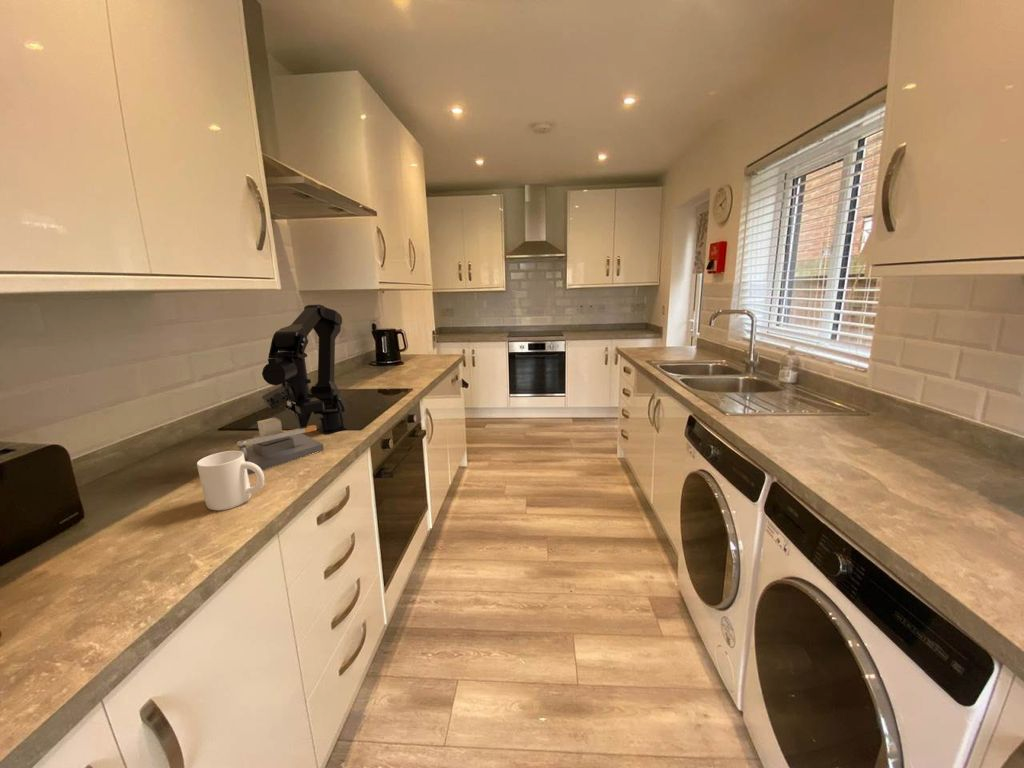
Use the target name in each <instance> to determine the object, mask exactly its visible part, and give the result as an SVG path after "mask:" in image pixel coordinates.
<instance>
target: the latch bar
mask: <svg viewBox="0 0 1024 768" xmlns="http://www.w3.org/2000/svg"><path fill="white" fill-rule="evenodd" d="M317 430H318V429H317V425H316V424H312V425H307V426H306V427H303V428H300V427H299V428H295V429H294V428H293V429H289V430H286V431H283V432H280V433H276V434H271V435H266V436H262V437H257V438H254V437H253V438H248V439H243V440H242V439H241V440H239V441H237V442H236V445H237V448H239V447H245V446H246V447H247V446H250V445H251V446H252V444H256V443H261V442H265V441H270V440H274V439H278V438H283V437H287V436H292V435H296V434H301V433H302V434H304V433H305V434H306V433H310V432H315V431H317Z"/></svg>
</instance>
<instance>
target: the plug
mask: <svg viewBox="0 0 1024 768" xmlns="http://www.w3.org/2000/svg"><path fill="white" fill-rule="evenodd" d="M257 427H258V433H259V434H258V435H255V436H253V438H257V437H262V436H266V435H271V434H276V433H280V432H284V431H283V427H282V421H281V419H279V418H276V417H272V418H271V417H270V418H266V419H263V420H258V421H257ZM288 438H290V436H287V437H283V438H278V439H274V440H270V441H265V442H261V443H260V444H262V445H268V444H271V443H275V442H278V441H282V440H285V439H288Z"/></svg>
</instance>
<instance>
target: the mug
mask: <svg viewBox="0 0 1024 768" xmlns="http://www.w3.org/2000/svg"><path fill="white" fill-rule="evenodd" d="M196 467H197V471H198V476H199V479H200V484H201V489H202V494H203V498H204V501H205V505H206V508H208V509H209V510H210V511H211V510H212V511H216V512H217V511H225V510H230V509H234V508H237V507H238V506H241V505H243V504H245V503H246V502H247V501H248V500H249V499H250V498H251V496H252V494H254V493H257V492H258V491H260V490H261V489H262V487H263V486H264V484H265V474H264V470H261V468H260V467H259V466H258V465H256V464H254V463H252V462H245V458H244V453H243V452H241V451H238V450H227V451H221V452H217V453H216V452H215V453H212V454H210V455H207V456H204V457H203V458H201V459H199V460H198V461H197V462H196ZM247 469H251V470H253V471H254V472H255V473H254V474H255V475H256V477H257V482H256V484H255V485H254V486H251V484H250V478H249V475H248V473H247Z"/></svg>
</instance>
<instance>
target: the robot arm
mask: <svg viewBox="0 0 1024 768" xmlns="http://www.w3.org/2000/svg"><path fill="white" fill-rule="evenodd" d="M342 324H343V318H342V315H341V314H340V313H339V312H338V311H337V310H335V309H331V308H328V307H326V306H325V305H324V304H321V303H320V304H307V305H305V306H304V308H303V310H302V312H301V313H300V314H299V315H298V316H297V317H296V319H295V320H294V321H293V322H292V323H291V324H289V325H288V326H284V327H282V328H280V329H278V330H277V331H275V332H274V334H273V336H272V339H271V342H270V348H269V353H268V358H267V362H268V363H267V364H266V365H265V366H264V367H263V369H262V372H261V374H262V378H263V380H264V381H265V383H267V384H269V385H272V386H279V387H277V388H275V389H273V390H270V391H269V392H267V393H265V394H263V395H262V396H261V398H262V400H263V401H264V403H265V405H266V406H267V408H270V409H271V410H275V409H277V408H278V407H280V406H281V405H283V404H285V403H286V404H287V405H285V406H284V408H285V409H286V410H288V411H291V413H292V414H293V417H294V419H295V420H296V422H297V425H298V427H299V428H303V427H307V426H308V423H309V421H310V418H311V416H312V413H313V415H318V418H317V422H318V431H319V432H322V433H324V434H326V435H329V434H333V433H337V432H339V431H343V430H347V427H346V426H344V418H343V413H344V412H345V413H346V409H347V408H346V407H347V406H346V404H347V403H346V401H345V400H344V399H343V398H342V396H341V395H340V394H341V393H340V389H339V387H338V386H337V384H336V383H335V362H336V361H335V360H336V359H335V358H336V357H335V354H336V353H335V352H336V338H337V337H338V336H339V334H340V332H341V328H342ZM312 330H313V331H314V332H315V334H316V335H317V336H318V351H317V354H318V355H317V357H318V360H317V382H316V383H315V385H312V386H311V388H310V385H309V384H311V383H312V382H311V379H310V378H308V372H307V364H306V358H307V357H308V354H307V353H306V352H305V350H306V348H307V347H308V343H309V339H308V336H309V334H310V333H311V332H312Z"/></svg>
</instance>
